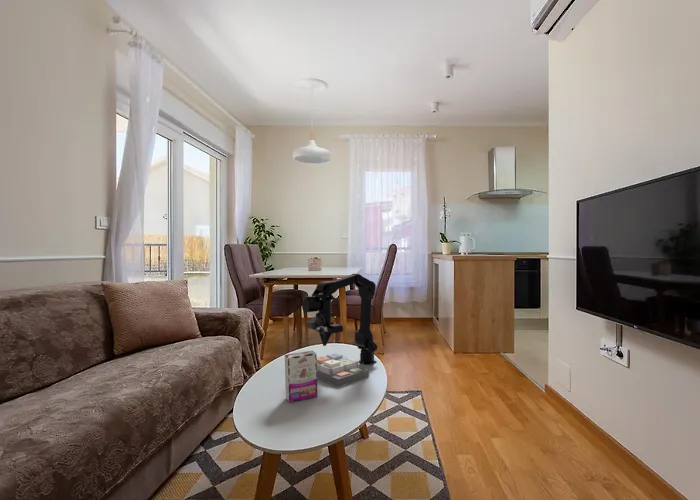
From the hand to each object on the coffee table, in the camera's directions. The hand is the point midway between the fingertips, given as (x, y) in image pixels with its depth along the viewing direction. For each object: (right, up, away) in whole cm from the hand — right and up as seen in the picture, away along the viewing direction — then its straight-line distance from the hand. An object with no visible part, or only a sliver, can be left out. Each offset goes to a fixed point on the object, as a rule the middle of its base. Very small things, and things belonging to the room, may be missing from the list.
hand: (324, 345), depth 163 cm
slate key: (+4, -8, +5) cm, 10 cm away
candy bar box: (-7, -13, -26) cm, 30 cm away
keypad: (+6, -12, -2) cm, 14 cm away
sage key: (+9, -9, 0) cm, 13 cm away
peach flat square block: (-1, -8, +1) cm, 8 cm away
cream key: (+4, -8, -5) cm, 10 cm away
